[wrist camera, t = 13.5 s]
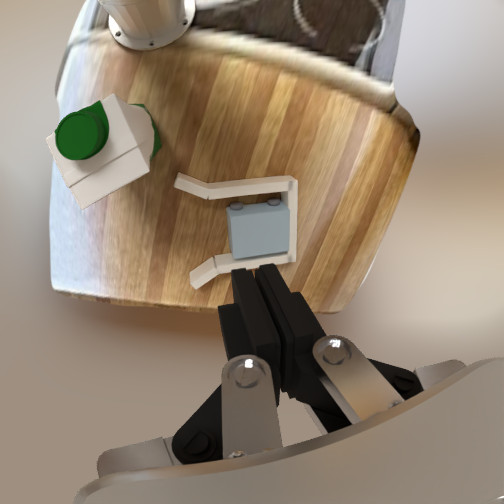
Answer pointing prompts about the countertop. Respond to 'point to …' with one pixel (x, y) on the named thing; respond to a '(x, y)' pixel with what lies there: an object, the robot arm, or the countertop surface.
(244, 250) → the grey boxy piece
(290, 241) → the bay
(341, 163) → the countertop surface
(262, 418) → the robot arm
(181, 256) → the countertop surface
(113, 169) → the milk carton
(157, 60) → the countertop surface
